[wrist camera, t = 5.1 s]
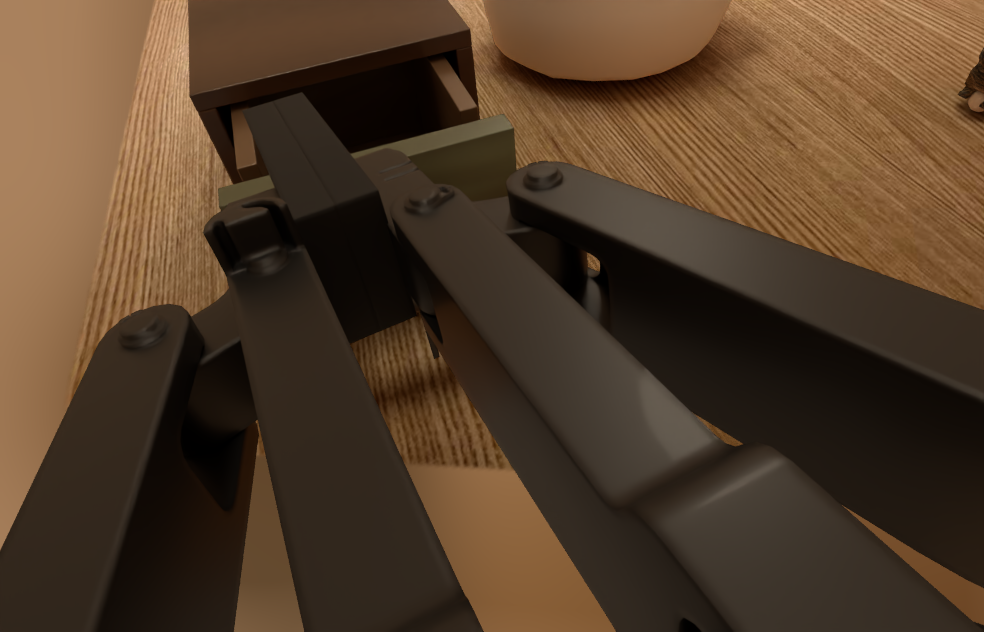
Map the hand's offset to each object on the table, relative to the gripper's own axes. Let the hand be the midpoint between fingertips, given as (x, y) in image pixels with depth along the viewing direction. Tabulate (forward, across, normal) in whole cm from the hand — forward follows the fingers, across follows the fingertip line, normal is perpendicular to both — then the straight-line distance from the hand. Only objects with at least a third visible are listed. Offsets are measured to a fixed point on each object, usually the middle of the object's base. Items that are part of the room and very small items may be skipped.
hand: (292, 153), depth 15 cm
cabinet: (+22, +5, -10) cm, 24 cm away
